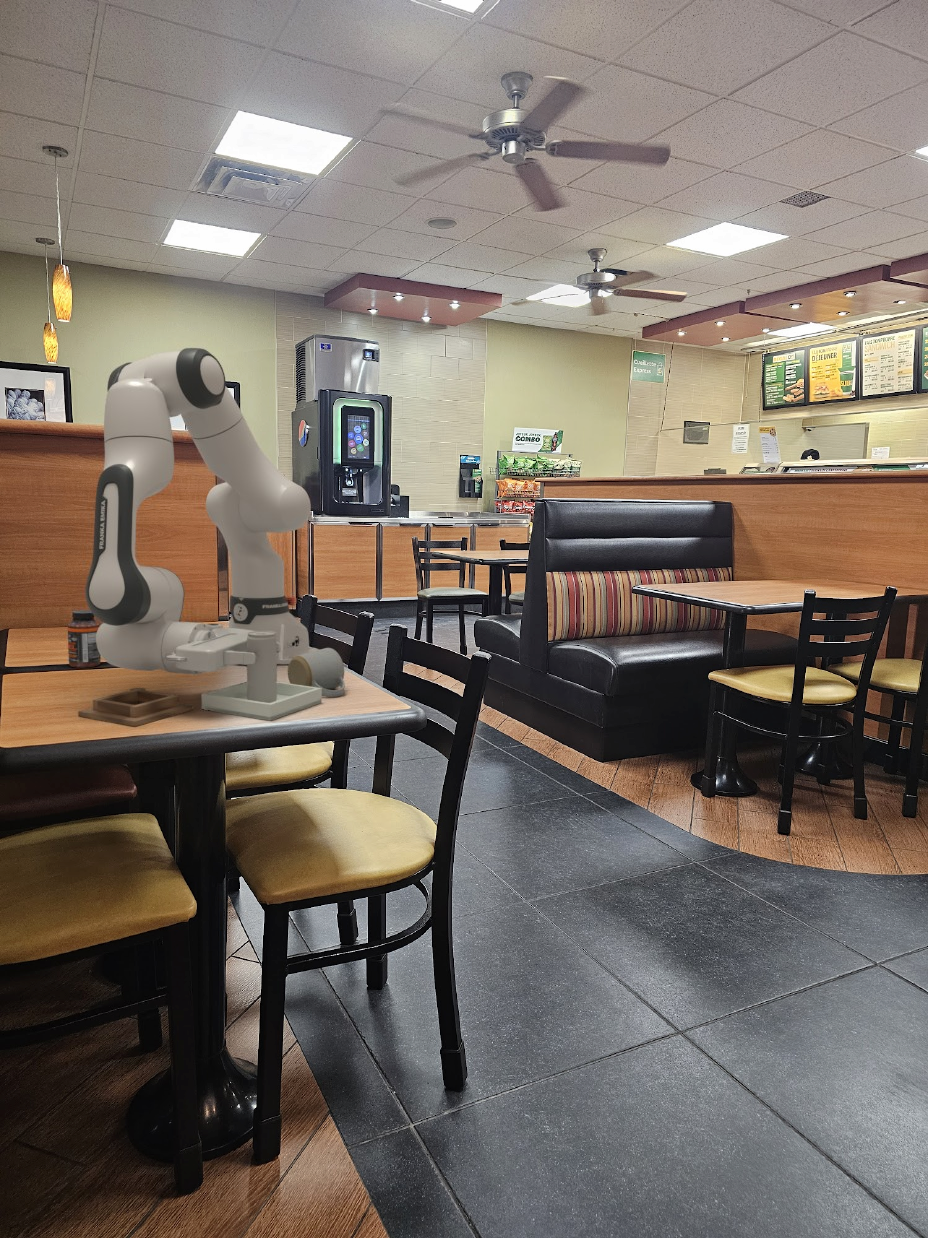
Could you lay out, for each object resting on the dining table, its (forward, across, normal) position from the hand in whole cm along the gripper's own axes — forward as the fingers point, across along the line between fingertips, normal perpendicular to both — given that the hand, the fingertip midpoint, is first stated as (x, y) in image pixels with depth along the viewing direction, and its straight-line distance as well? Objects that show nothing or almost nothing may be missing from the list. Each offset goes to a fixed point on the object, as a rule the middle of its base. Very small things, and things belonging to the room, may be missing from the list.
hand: (267, 653), depth 132 cm
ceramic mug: (+5, +13, +10) cm, 17 cm away
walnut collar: (-18, -10, +9) cm, 23 cm away
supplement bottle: (-49, +21, +10) cm, 54 cm away
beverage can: (-1, 0, +9) cm, 9 cm away
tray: (-1, 0, +9) cm, 9 cm away
